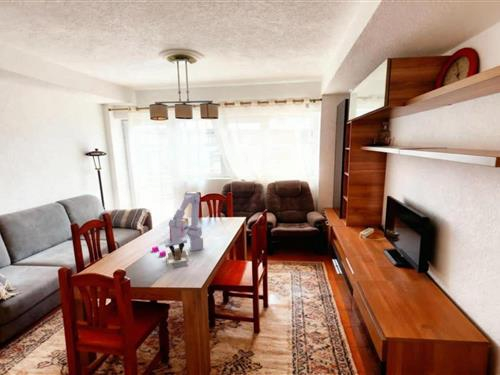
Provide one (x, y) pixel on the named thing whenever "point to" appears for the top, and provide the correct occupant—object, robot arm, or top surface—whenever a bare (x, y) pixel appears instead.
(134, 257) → the top surface
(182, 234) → the gum box
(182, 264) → the mat
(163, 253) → the toy block
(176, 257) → the walnut block
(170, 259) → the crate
